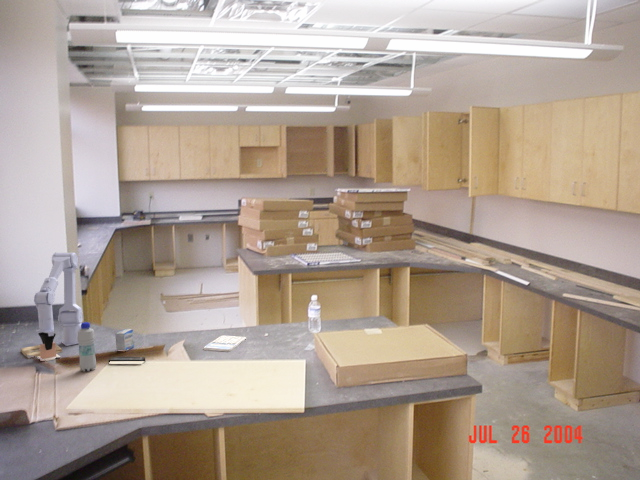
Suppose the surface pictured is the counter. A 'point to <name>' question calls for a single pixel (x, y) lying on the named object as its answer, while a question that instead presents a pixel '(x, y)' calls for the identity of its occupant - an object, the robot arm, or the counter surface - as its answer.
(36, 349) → the gold flat square frame
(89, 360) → the bottle
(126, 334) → the medicine box
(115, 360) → the multiport hub
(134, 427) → the counter surface
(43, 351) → the peach cuboid
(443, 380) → the counter surface
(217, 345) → the white book
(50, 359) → the pad
